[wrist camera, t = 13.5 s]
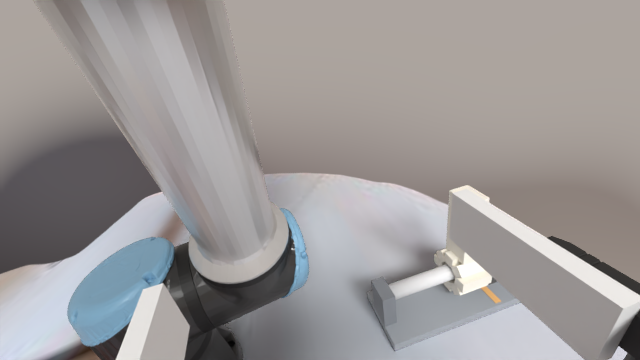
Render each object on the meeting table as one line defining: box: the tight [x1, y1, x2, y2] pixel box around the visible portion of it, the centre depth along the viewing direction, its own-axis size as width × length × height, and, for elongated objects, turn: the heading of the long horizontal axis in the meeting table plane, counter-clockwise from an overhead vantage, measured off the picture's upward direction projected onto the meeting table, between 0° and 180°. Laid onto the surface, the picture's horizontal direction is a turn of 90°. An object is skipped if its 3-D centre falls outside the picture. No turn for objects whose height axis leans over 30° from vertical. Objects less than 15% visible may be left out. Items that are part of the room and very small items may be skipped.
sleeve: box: [434, 185, 492, 295], centre depth 42 cm, size 5×7×18 cm
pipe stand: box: [367, 264, 521, 351], centre depth 45 cm, size 26×10×8 cm, turn 105°
